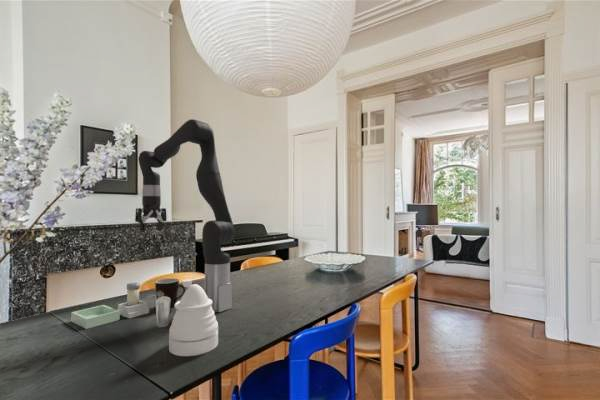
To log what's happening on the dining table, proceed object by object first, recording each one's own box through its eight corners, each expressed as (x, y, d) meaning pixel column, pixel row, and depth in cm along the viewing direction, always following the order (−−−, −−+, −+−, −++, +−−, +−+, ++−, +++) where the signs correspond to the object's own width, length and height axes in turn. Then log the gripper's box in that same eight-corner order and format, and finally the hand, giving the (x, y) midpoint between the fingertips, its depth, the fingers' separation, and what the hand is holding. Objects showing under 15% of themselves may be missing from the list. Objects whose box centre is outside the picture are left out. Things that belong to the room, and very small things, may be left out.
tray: (119, 319, 106) (119, 310, 107) (86, 329, 98) (86, 319, 98) (103, 313, 113) (103, 304, 113) (71, 321, 105) (71, 312, 105)
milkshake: (152, 324, 102) (152, 293, 102) (170, 322, 104) (170, 291, 104) (152, 329, 98) (152, 297, 98) (170, 326, 100) (170, 295, 100)
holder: (149, 312, 113) (149, 303, 114) (129, 318, 108) (129, 308, 108) (136, 308, 119) (136, 299, 119) (116, 313, 113) (116, 303, 113)
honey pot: (169, 360, 78) (169, 287, 78) (168, 340, 90) (169, 277, 90) (221, 350, 83) (222, 282, 84) (214, 333, 95) (214, 273, 95)
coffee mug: (150, 307, 120) (151, 281, 120) (172, 302, 126) (173, 277, 127) (164, 314, 112) (164, 285, 112) (186, 308, 118) (187, 281, 119)
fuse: (141, 308, 114) (142, 283, 114) (130, 311, 110) (130, 286, 110) (135, 306, 116) (136, 282, 116) (124, 309, 113) (124, 284, 113)
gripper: (142, 194, 134) (142, 232, 133) (170, 195, 147) (170, 230, 146) (131, 195, 137) (131, 232, 137) (159, 196, 150) (159, 230, 149)
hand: (151, 231), depth 141 cm, fingers open, 8 cm apart
